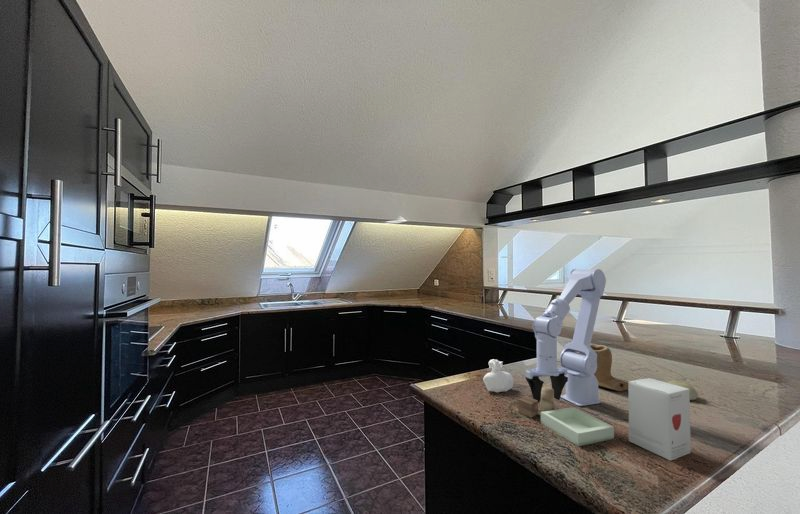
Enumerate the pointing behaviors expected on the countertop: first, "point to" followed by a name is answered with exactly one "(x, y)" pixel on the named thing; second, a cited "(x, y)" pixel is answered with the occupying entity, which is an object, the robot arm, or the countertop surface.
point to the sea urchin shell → (692, 391)
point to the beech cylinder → (547, 399)
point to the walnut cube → (528, 406)
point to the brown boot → (606, 369)
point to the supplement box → (659, 417)
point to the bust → (497, 378)
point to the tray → (577, 426)
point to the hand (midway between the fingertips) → (546, 399)
